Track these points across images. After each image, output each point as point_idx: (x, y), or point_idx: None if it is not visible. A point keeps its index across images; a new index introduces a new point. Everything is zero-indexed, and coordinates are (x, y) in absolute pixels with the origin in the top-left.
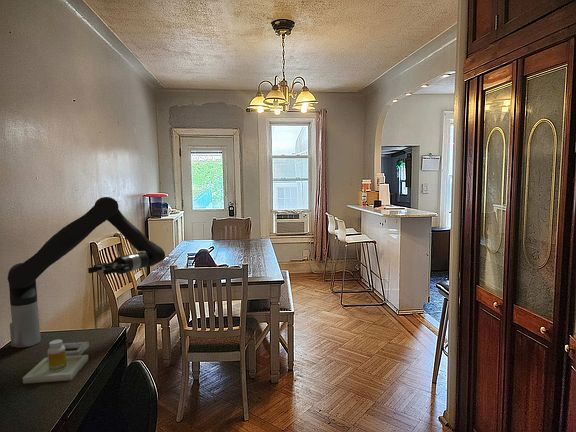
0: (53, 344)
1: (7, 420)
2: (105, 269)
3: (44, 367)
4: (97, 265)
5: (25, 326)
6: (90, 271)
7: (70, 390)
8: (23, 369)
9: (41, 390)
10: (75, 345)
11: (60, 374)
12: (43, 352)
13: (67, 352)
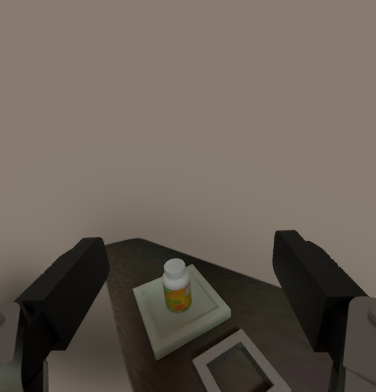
0: (170, 260)
1: (143, 240)
2: (82, 239)
3: (204, 298)
4: (372, 317)
5: None
6: (276, 260)
7: (117, 280)
8: (238, 291)
9: (154, 270)
10: None
11: (148, 283)
12: (297, 351)
13: (215, 346)
